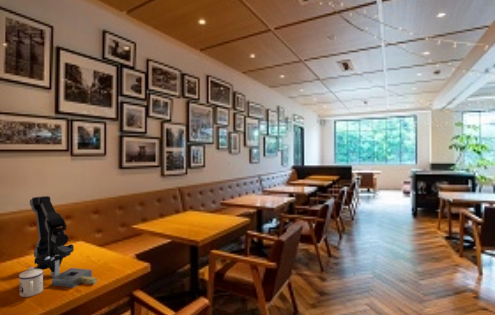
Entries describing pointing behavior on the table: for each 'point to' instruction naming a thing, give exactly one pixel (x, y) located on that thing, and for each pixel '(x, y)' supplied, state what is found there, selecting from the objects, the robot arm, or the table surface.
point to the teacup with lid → (31, 282)
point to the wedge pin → (56, 269)
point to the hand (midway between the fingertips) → (55, 270)
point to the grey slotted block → (74, 278)
